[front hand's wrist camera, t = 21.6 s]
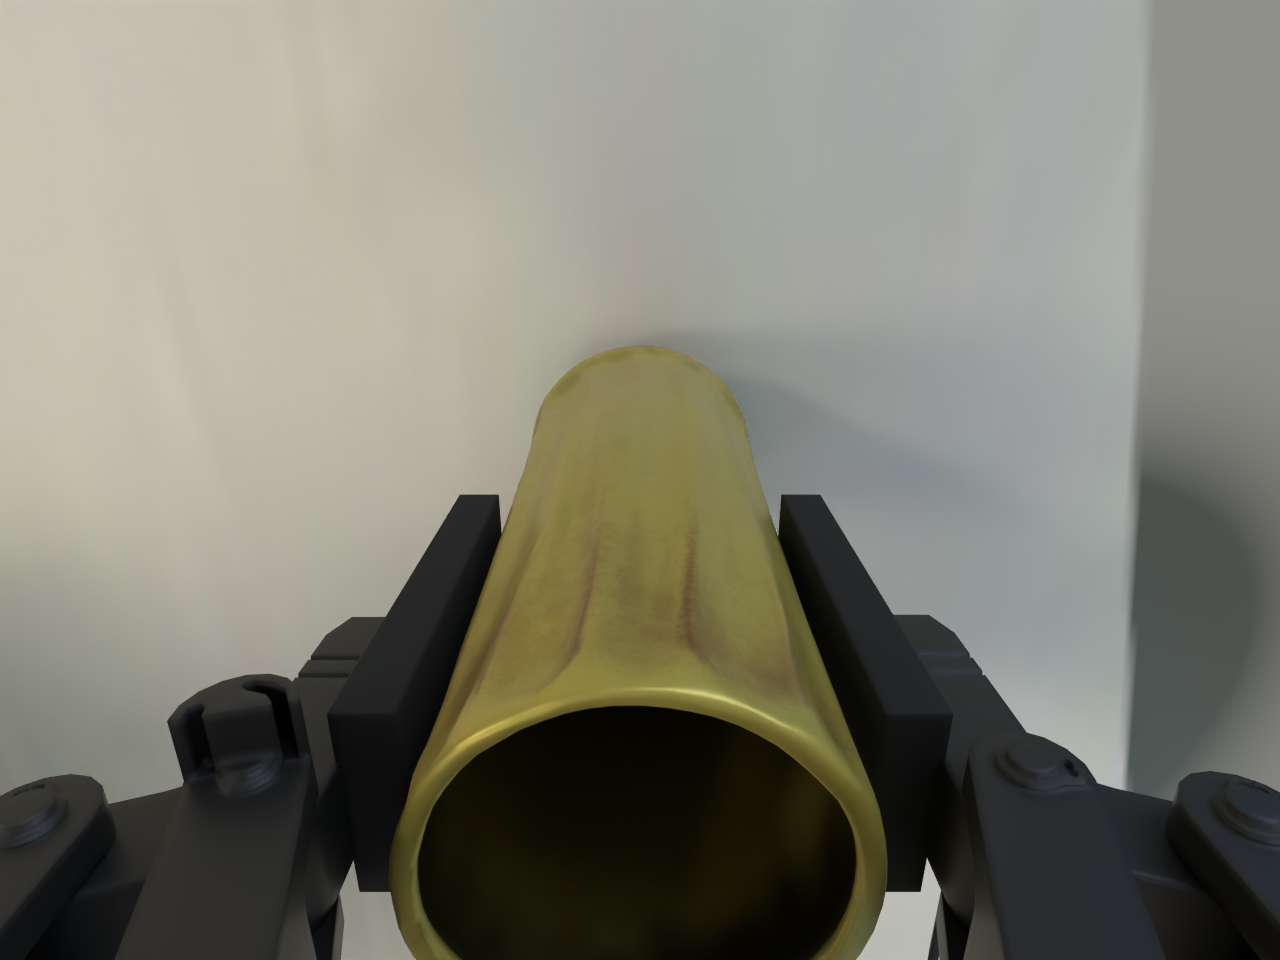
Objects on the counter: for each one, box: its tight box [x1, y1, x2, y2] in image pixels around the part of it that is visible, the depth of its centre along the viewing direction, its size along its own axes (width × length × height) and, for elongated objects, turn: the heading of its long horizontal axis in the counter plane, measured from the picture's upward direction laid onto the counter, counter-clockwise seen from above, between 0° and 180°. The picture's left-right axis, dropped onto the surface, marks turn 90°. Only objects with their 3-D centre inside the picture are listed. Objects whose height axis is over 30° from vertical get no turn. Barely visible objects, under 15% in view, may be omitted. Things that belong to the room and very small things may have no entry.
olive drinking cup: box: [389, 346, 888, 960], centre depth 14 cm, size 6×6×14 cm
